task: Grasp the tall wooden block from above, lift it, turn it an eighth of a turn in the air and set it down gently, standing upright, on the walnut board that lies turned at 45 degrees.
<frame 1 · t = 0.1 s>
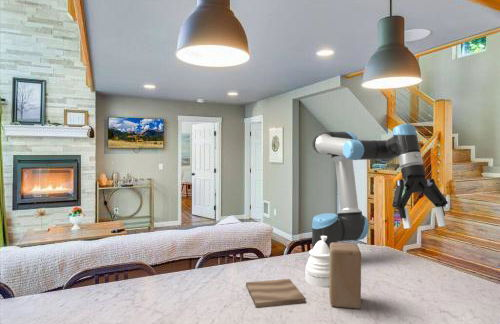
hand: (425, 227, 108), 28 cm above the countertop, tool tilted 20°, fingers open, 13 cm apart
honey pot: (321, 280, 134), on the countertop
wooden block: (344, 302, 114), on the countertop
walnut board: (274, 293, 121), on the countertop
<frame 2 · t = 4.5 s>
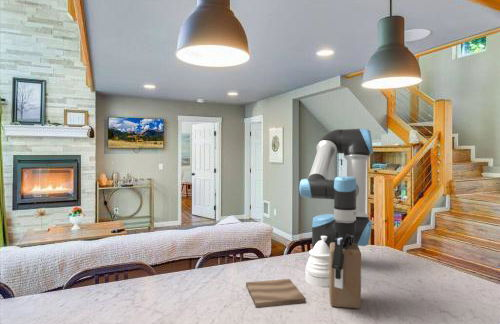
hand: (344, 281, 114), 7 cm above the countertop, tool pointing down, fingers closed on wooden block, 12 cm apart
wooden block: (344, 302, 114), on the countertop, touching gripper
everything else where it was.
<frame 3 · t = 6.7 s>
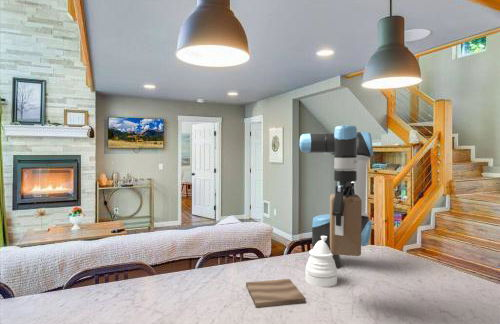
hand: (344, 231, 114), 25 cm above the countertop, tool pointing down, fingers closed on wooden block, 12 cm apart
wooden block: (344, 252, 114), point 18 cm above the countertop, touching gripper
everything else where it was.
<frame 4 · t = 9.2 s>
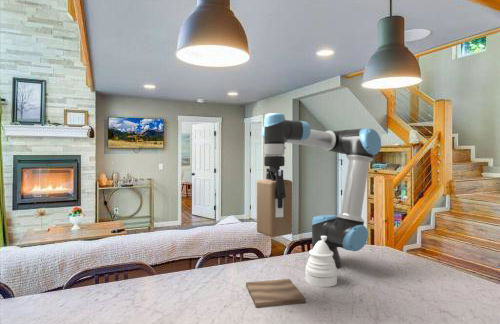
hand: (274, 213, 120), 30 cm above the countertop, tool pointing down, fingers closed on wooden block, 12 cm apart
wooden block: (274, 233, 120), point 23 cm above the countertop, touching gripper
everything else where it was.
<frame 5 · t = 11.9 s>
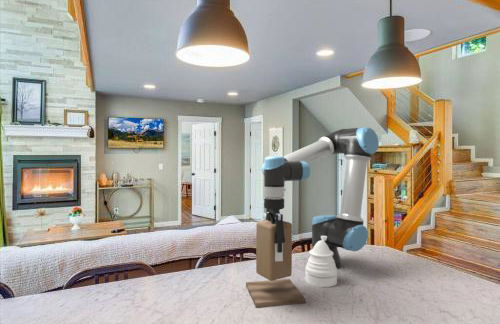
hand: (273, 255, 120), 15 cm above the countertop, tool pointing down, fingers closed on wooden block, 12 cm apart
wooden block: (273, 275, 120), point 7 cm above the countertop, touching gripper
everything else where it was.
when the fingers open (10 cm above the countertop, at t = 14.1 s): wooden block stays where it is, resting on walnut board.
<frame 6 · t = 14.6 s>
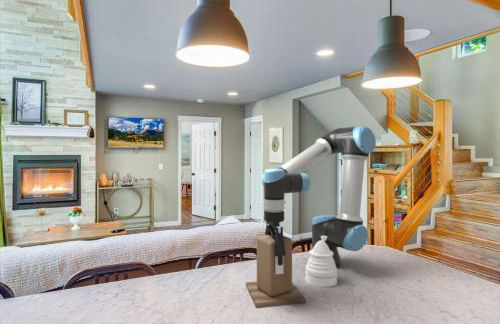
hand: (274, 266, 120), 10 cm above the countertop, tool pointing down, fingers open, 13 cm apart
wooden block: (274, 290, 121), point 1 cm above the countertop, touching walnut board
everything else where it was.
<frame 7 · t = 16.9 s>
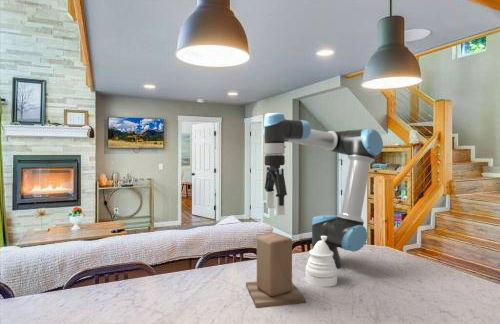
hand: (275, 211, 122), 31 cm above the countertop, tool pointing down, fingers open, 13 cm apart
nothing on the countertop moved.
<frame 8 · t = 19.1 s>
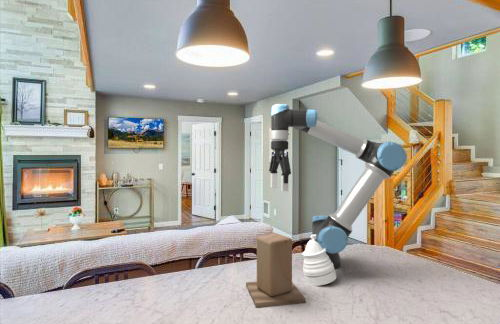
hand: (279, 189, 140), 37 cm above the countertop, tool pointing down, fingers open, 13 cm apart
honey pot: (321, 279, 134), on the countertop, touching arm
everything else where it was.
at the end: wooden block inside the target area on the walnut board (0.0 cm from its centre), point 1.3 cm above the walnut board's base; wooden block tilted 0°; the gripper is holding nothing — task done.
